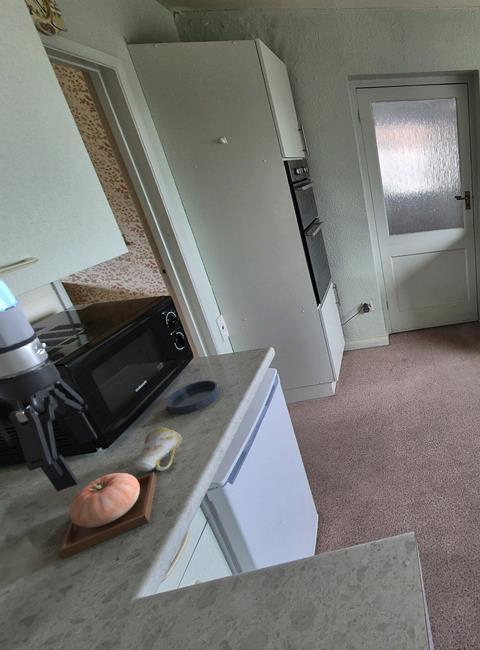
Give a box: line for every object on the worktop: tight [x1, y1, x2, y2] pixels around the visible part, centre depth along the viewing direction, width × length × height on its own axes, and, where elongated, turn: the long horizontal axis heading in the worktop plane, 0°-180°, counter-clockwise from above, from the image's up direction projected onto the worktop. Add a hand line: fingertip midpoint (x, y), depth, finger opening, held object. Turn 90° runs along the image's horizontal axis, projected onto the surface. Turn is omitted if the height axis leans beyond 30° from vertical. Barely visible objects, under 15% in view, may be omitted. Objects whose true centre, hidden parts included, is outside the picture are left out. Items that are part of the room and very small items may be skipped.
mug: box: [134, 427, 183, 473], centre depth 92 cm, size 8×10×10 cm
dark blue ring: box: [165, 379, 221, 415], centre depth 114 cm, size 13×13×2 cm
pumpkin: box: [68, 472, 140, 528], centre depth 77 cm, size 11×11×8 cm
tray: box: [57, 471, 158, 559], centre depth 78 cm, size 13×13×2 cm
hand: (79, 462), depth 73 cm, fingers open, 13 cm apart
